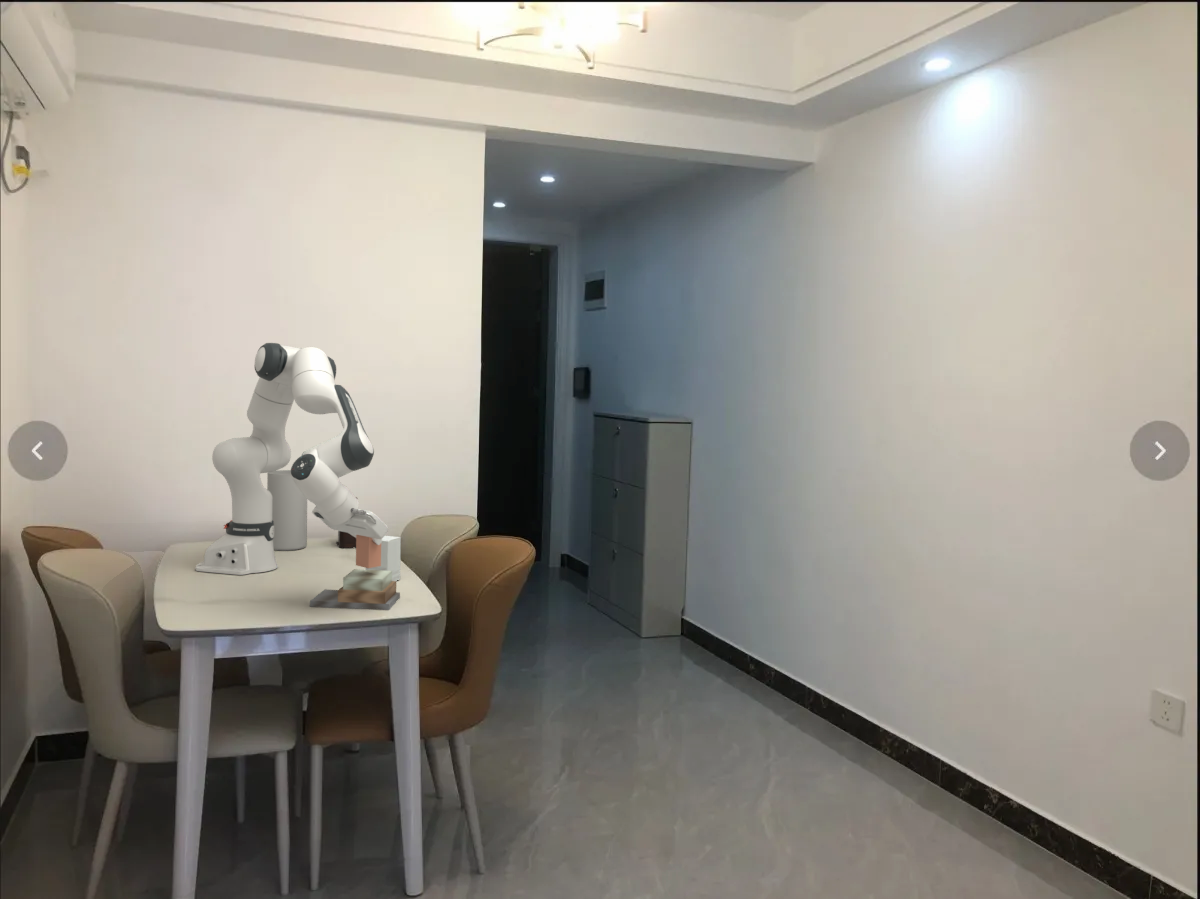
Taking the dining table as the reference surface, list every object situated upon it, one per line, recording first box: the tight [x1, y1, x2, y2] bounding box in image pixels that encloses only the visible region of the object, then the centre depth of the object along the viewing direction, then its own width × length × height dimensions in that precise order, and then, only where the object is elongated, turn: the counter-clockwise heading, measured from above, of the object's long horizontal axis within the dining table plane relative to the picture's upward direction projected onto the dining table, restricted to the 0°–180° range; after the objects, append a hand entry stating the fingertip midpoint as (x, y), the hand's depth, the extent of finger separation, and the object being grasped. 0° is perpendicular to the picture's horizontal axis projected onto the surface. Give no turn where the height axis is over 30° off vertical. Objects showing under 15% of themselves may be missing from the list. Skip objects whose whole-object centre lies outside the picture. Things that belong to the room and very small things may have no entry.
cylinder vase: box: [266, 469, 308, 552], centre depth 299 cm, size 12×12×25 cm
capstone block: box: [355, 535, 381, 569], centre depth 234 cm, size 4×5×9 cm
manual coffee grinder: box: [336, 496, 359, 549], centre depth 305 cm, size 16×11×18 cm
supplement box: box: [365, 535, 402, 582], centre depth 258 cm, size 7×7×13 cm
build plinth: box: [309, 568, 401, 611], centre depth 235 cm, size 20×12×8 cm, turn 89°
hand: (370, 540), depth 234 cm, fingers closed on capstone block, 5 cm apart
